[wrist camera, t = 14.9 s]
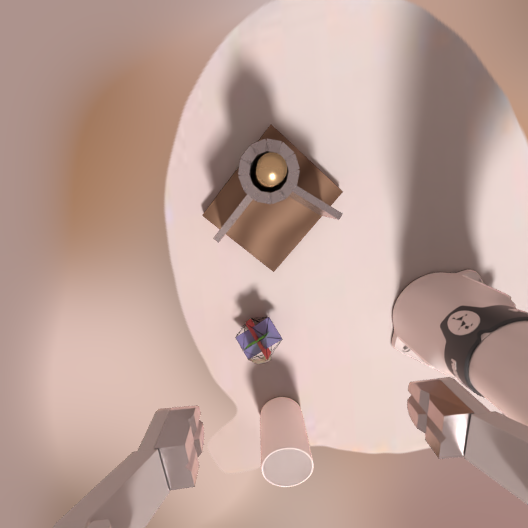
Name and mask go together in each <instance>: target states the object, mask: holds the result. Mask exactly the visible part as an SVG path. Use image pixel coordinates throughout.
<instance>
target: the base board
mask: <svg viewBox="0 0 528 528" xmlns="http://www.w3.org/2000/svg"><path fill="white" fill-rule="evenodd" d="M267 138H268V139H273V140H278V141H282V143H283V142H284V143H285V144H286V145H287V146H288V147H289V148H290V149H291V150H292V151H293V152H294V153H293V154H295V155H296V158H297V161H298V165H299V168H300V169H298V170H300V172H299V177H298V182H297V186H298V187H300V188H301V189H303V190H305V191H306V192H308V193H310V194H311V195H313V196H314V197H316V198H318V199H319V200H321V201H323V202H324V203H326V204H328V205H329V206H331V205H332V204H333V203H334V201H335V200H336V199H337V198H338V197H339V196H340V194H341V193H342V192H343V191H342V190H340V189H339V188H338V187H337V186H336V185H335V184H334V183H333V182H332V181H331V180H330V179H329V178H328V177H327V176H326V175H325V174H323V173H322V172H321V171H320V170H319V169H318V168H317V167H316V166H315V165H314V164H313V163H312V162H311V161H310V160H309V159H307V158H306V157H305V156H304V155H303V154H302V153H301V152H300V151H299V150H298V149H297V148H296V147H295V146H294V145H293V144H291V143H290V142H289V141H288V140H287V139H286V138H285V137H284V136H283V135H282V134H281V133H280V132H279V131H278V130H277V129H276V128H274V127H273V126H272V125H270V126H269V127H268V129H267V130H266V131H265V133H264V134H263V135H262V137H261V138H260V139H259V141H260V140H263V139H266V140H267ZM282 143H281V144H282ZM256 167H257V166H256ZM238 171H239V167H238V169H237V170H236V171H235V173H234V174H233V175H232V177H231V178H230V179H229V181H228V182H227V183H226V184H225V186H224V187H223V188H222V190H221V191H220V192H219V194H218V195H217V196H216V198H215V199H214V200H213V202H212V203H211V204H210V206H209V207H208V208H207V210H206V211H205V212H204V214H203V215H202V216H204V217H205V218H206V219H207V220H209V221H210V222H211V223H212V224H214V225H215V226H216V227H217V228H219V229H221V228H222V226H223V225H224V224H225V222H226V221H227V220H228V219H229V217H230V216H231V215H232V213H233V212H234V211H235V210H236V208H237V207H238V206H239V204H240V203H241V202H242V201H243V199H244V198H245V197H246V195H247V193H245V191H244V190H243V188H242V185H241V182H240V180H239V177H238V176H239V175H238ZM255 175H256V168H255V169H254V170H253V172H252V174H251V181H252V183H253V185H254V186H255V187H256V188H258V189H259V190H260V191H262V192H268V193H272V192H274V191H275V190H276V189H277V187H278V186H279V183H278V184H277V185H275V186H274V187H272V188H271V189H269V190H262V189H260V188H259V187H258V186H257V185H256V182H255ZM320 218H321V215H319V214H317V213H315V212H314V211H312V210H310V209H309V208H307V207H305V206H304V205H302V204H300V203H299V202H297V201H295V200H294V199H292V198H291V197H289V196H288V197H287V198H286V199H284V200H282V201H279V202H277V203H274V204H267V203H261V202H257V200H256V201H255V200H254V199H253V200H252V201H251V203H250V204H249V205H248V206H247V208H246V209H245V210H244V212H243V213H242V214H241V215H240V217H239V218H238V219H237V220H236V222H235V223H234V224H233V226H232V227H231V228H230V229H229V231H228V232H227V233H226V235H228V236H229V237H230V238H231V239H233V240H234V241H235V242H236V243H238V244H239V245H240V246H242V247H243V248H244V249H245V250H247V251H248V252H249V253H250V254H252V255H253V256H254V257H255V258H257V259H258V260H259V261H261V262H262V263H263V264H264V265H266V266H267V267H268V268H269V269H271V270H272V271H273V272H274V271H275V270H276V269H277V267H278V266H279V265H280V264H281V263H282V262H283V261H284V259H285V258H286V257H287V256H288V255H289V254H290V252H291V251H292V250H293V249H294V248H295V247H296V245H297V244H298V243H299V242H300V241H301V240H302V239H303V237H304V236H305V235H306V234H307V233H308V232H309V230H310V229H311V228H312V227H313V226H314V225H315V223H316V222H317V221H318V220H319V219H320Z"/></svg>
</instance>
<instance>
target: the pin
mask: <svg viewBox="0 0 528 528" xmlns="http://www.w3.org/2000/svg"><path fill="white" fill-rule="evenodd" d="M286 173H287V164H286V161H285V159H284V158H283V157H282V156H281V155H280V154H278V153H274V152H269V153H266V154H264V155H263V156H262V157H261V158H260V159H259V161H258V163H257V167H256V175H255V182H256V185H257V186H258V187H259V188H260V189H262V190H269V189H271V188H272V187H274V186H275V185H277V184H278V183H280V182H281V181H282V180H283V179H284V178H285V176H286Z"/></svg>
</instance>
